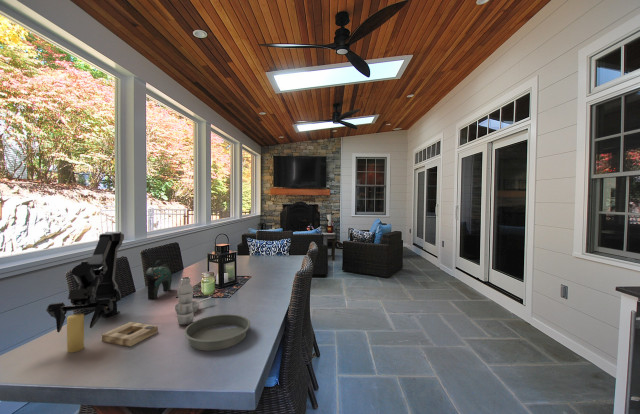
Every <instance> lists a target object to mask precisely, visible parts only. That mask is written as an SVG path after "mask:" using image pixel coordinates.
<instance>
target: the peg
mask: <svg viewBox="0 0 640 414" xmlns="http://www.w3.org/2000/svg"><path fill="white" fill-rule="evenodd" d="M84 348H85V314H84V313H75V314H71V315H68V316H66V352H67V353H69V354H70V353H71V354H72V353H76V352H79V351H82V350H83V349H84Z"/></svg>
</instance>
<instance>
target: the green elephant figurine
mask: <svg viewBox="0 0 640 414" xmlns="http://www.w3.org/2000/svg"><path fill="white" fill-rule="evenodd" d="M158 262H159V263H161V260H157V261H155V267H154V266H152V267H148V269H147V270H146V273H145V278H146V279H147V300H156V299H157V298H158V291H159V289H160V285H161V284H162V291H163V292H170V290H171V287H172V280H173V279H172V278H173V277H172V272H171V270H170V268H169V266H168V264H166V263H165V264H162V265H161V266H159V265H158V266H157V263H158Z"/></svg>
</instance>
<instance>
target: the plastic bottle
mask: <svg viewBox="0 0 640 414" xmlns="http://www.w3.org/2000/svg"><path fill="white" fill-rule="evenodd" d="M176 292H177V299H178V303H179V311H178V313H177V318H176V320H177V323H178V324H179V325H181V326H185V325H186V326H187V325H190V324H191V323H193V322H194V319H195V315H194V314H195V313H193V307H192V301H193V300H194V298H193V297H194V287H193V285H192V284H191V277H190V276H185V277H181V278H180V285H179V287H178V288H177V290H176Z"/></svg>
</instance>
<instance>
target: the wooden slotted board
mask: <svg viewBox="0 0 640 414" xmlns="http://www.w3.org/2000/svg"><path fill="white" fill-rule="evenodd" d="M158 329H159V327H158V325H154V324H147V323H146V324H145V323H140V322H133V321H129V322H128V323H125V324H123V325H120V326H117V327H116V328H113V329H112V330H109V331H107V332H104V333H103V334H101V341H102V342H105V343H110V344H114V345H115V344H116V345H121V346H127V347H132V346H134V345H136V344H138V343H140V342H141V341H143V340H145V339H147V338H150V337H151V336H153V335H155V334H157V333H158Z"/></svg>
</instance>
